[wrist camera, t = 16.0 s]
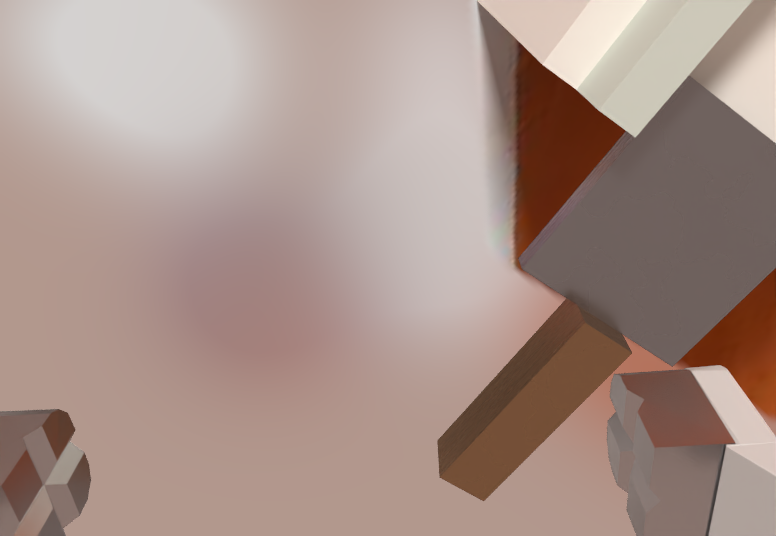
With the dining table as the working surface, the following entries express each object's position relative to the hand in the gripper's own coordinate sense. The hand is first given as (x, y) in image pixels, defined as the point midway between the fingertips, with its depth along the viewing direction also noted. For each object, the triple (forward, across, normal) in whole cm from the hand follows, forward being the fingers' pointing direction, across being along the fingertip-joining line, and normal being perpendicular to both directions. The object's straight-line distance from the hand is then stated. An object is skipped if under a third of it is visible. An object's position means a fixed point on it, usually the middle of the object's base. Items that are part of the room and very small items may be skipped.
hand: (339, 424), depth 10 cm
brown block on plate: (+16, -8, +9) cm, 21 cm away
